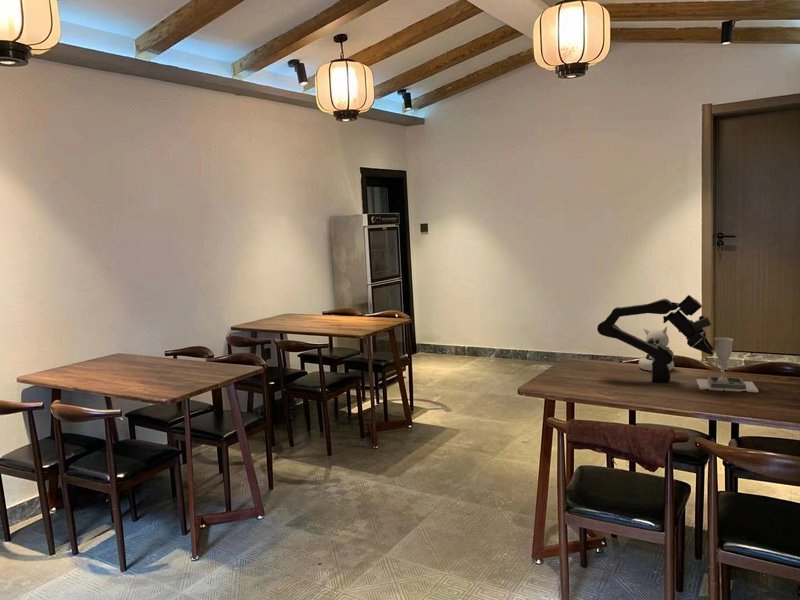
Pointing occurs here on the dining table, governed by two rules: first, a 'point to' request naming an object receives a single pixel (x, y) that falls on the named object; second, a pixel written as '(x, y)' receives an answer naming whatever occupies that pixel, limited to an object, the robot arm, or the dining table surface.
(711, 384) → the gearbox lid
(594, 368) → the dining table surface
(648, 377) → the dining table surface
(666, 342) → the decorative figurine
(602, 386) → the dining table surface
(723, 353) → the chalice
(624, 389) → the dining table surface
